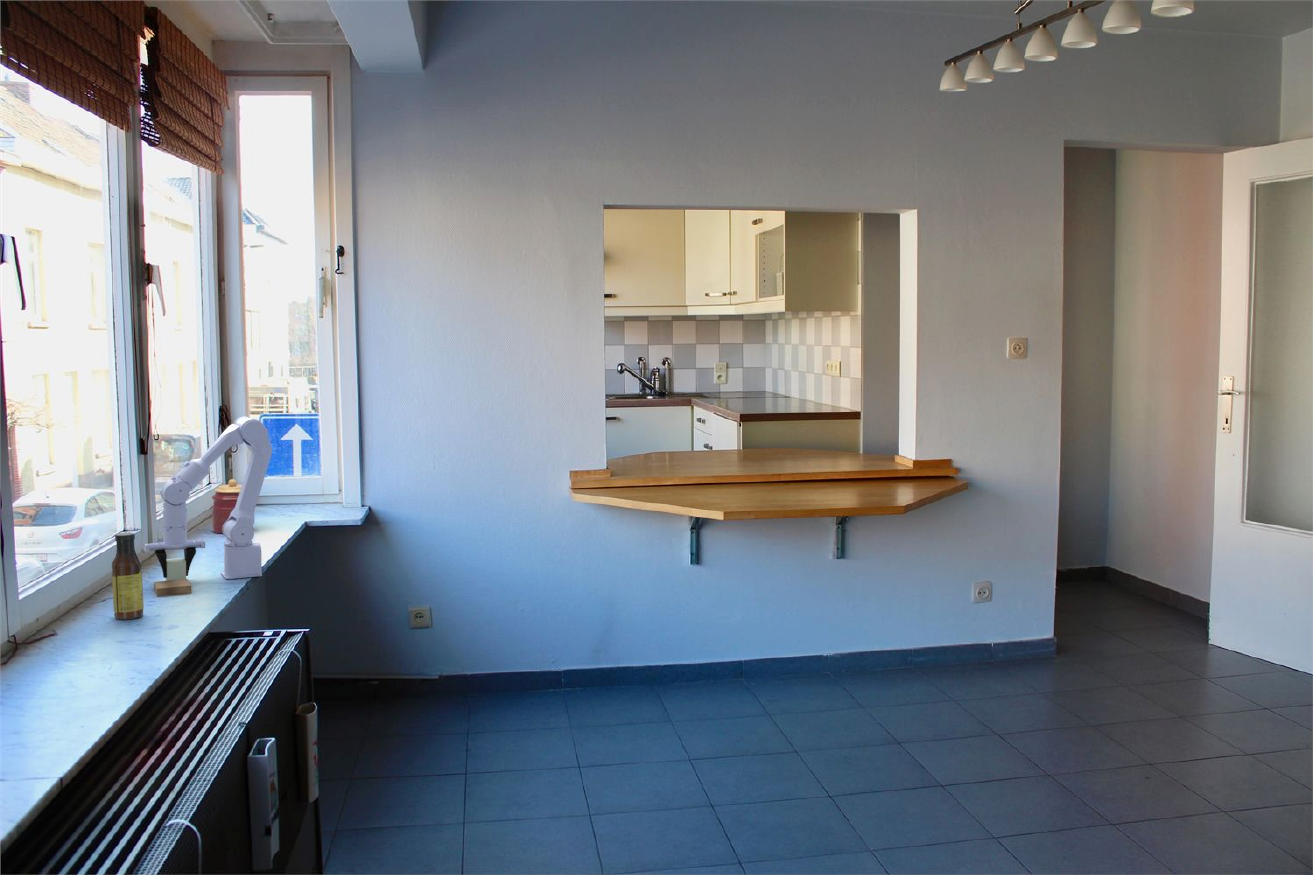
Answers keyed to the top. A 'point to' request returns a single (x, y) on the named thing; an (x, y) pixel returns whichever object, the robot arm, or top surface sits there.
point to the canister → (224, 504)
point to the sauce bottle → (127, 579)
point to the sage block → (176, 569)
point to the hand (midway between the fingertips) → (175, 576)
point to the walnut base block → (172, 587)
